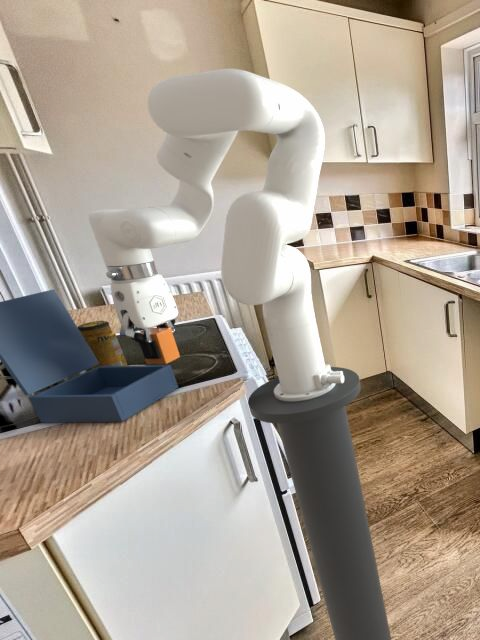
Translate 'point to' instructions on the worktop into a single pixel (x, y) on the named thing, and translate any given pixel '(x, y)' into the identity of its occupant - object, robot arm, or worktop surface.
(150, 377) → the lunchbox
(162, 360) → the orange rectangular block
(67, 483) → the worktop surface
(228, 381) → the worktop surface
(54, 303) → the lid
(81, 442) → the worktop surface
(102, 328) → the condiment
